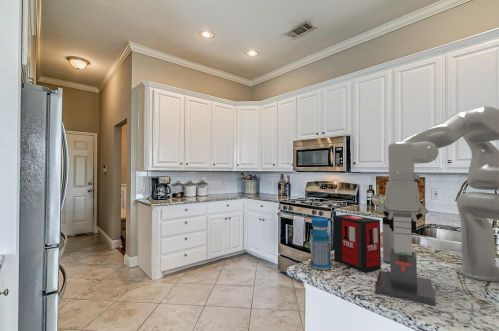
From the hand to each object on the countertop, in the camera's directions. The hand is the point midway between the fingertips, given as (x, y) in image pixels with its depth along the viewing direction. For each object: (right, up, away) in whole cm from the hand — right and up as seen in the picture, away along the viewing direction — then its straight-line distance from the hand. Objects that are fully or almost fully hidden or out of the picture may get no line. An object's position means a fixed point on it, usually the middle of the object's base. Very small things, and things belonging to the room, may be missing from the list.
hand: (402, 231), depth 87 cm
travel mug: (+11, -20, +26) cm, 35 cm away
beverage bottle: (-22, -20, +20) cm, 36 cm away
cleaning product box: (-6, -20, +22) cm, 31 cm away
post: (0, -11, 0) cm, 11 cm away
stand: (0, -19, -1) cm, 19 cm away
